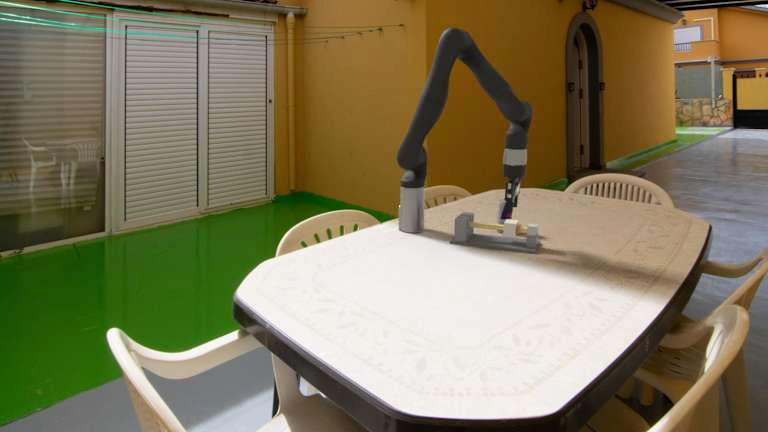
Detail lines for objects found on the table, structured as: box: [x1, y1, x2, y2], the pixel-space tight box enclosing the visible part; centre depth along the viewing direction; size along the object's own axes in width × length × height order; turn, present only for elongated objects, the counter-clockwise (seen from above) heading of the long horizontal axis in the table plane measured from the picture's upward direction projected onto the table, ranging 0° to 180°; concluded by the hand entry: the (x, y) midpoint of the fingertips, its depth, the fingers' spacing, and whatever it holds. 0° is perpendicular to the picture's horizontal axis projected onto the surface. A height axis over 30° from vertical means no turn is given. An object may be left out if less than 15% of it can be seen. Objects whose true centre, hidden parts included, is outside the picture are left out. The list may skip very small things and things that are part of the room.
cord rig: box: [453, 211, 540, 248], centre depth 159 cm, size 27×11×8 cm, turn 65°
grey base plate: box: [449, 232, 541, 255], centre depth 160 cm, size 29×12×1 cm, turn 65°
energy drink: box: [496, 199, 513, 234], centre depth 173 cm, size 5×5×12 cm
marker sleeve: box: [502, 219, 519, 238], centre depth 156 cm, size 4×5×5 cm
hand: (511, 209), depth 155 cm, fingers open, 8 cm apart
